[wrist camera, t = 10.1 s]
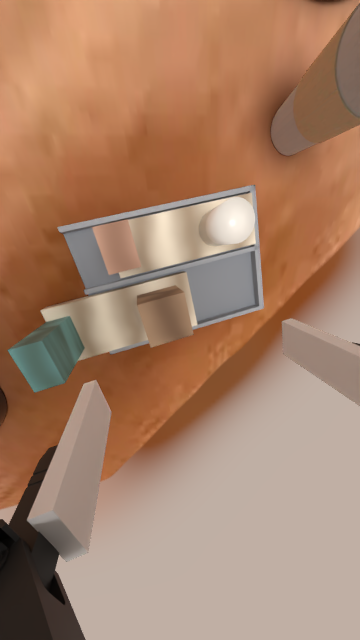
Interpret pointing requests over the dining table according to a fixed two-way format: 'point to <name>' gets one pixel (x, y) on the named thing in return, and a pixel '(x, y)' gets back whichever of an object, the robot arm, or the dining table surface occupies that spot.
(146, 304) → the walnut cube
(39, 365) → the strip
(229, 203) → the stoneware cylinder
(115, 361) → the dining table surface
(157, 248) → the strip
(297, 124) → the coffee cup
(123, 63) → the dining table surface
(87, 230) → the lane board
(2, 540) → the robot arm
